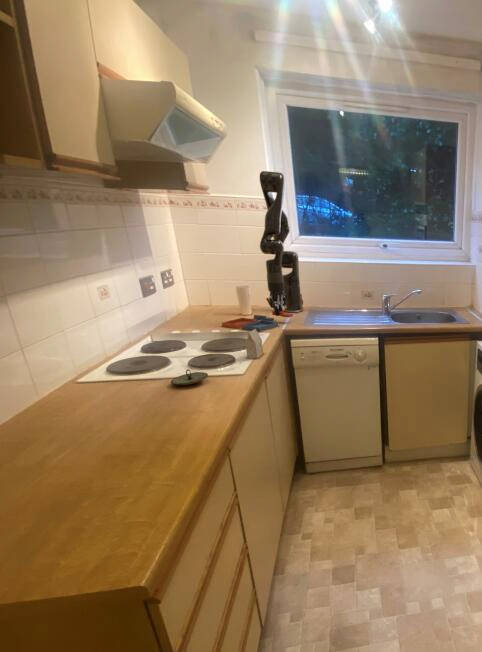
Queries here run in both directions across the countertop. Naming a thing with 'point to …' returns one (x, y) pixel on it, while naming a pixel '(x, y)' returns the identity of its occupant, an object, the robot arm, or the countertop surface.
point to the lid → (189, 378)
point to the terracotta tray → (238, 322)
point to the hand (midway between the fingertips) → (279, 315)
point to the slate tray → (260, 325)
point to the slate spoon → (263, 318)
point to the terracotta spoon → (283, 314)
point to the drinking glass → (244, 299)
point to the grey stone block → (254, 345)
